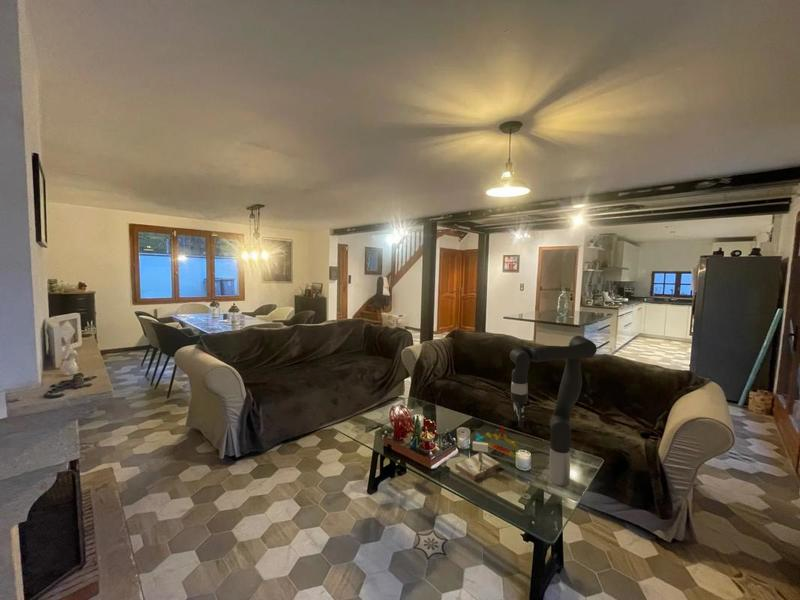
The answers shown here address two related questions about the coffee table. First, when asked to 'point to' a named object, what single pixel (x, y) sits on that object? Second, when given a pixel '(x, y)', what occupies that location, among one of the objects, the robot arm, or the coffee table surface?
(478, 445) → the wooden mallet
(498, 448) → the chart
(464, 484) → the coffee table surface
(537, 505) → the coffee table surface
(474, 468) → the desk tray with supplies
